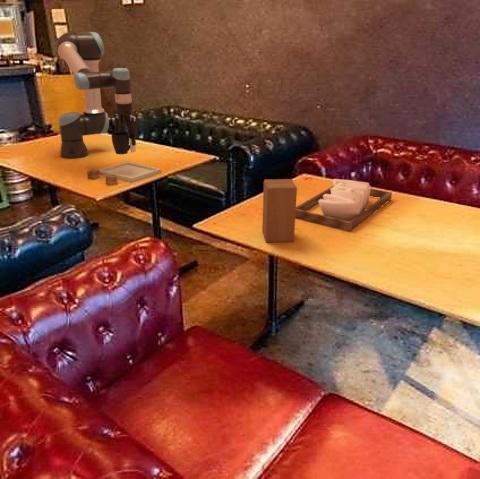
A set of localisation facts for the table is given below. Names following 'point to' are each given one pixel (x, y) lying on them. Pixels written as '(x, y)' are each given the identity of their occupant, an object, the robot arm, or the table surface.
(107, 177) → the walnut cube
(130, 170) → the tray
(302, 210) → the book corral
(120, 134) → the mug
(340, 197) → the white wavy slab sculpture
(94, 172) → the walnut cube
